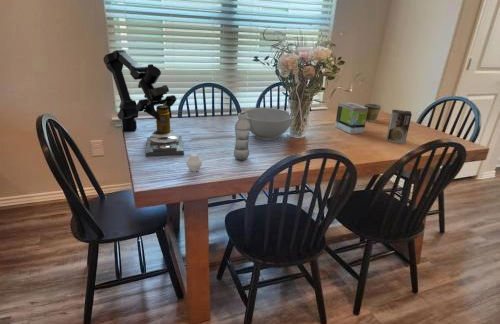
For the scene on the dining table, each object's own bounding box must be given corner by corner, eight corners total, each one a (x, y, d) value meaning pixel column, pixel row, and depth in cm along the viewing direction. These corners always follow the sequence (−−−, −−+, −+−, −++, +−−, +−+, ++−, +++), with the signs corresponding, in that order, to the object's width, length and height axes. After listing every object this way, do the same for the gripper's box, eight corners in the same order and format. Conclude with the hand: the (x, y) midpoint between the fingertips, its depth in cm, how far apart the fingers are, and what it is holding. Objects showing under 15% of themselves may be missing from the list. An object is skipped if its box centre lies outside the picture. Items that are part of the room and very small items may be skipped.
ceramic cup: (380, 123, 204) (383, 107, 200) (364, 122, 204) (367, 106, 200) (373, 117, 216) (376, 103, 212) (358, 117, 216) (361, 102, 212)
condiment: (173, 130, 153) (172, 105, 148) (167, 136, 145) (165, 109, 140) (158, 128, 153) (157, 104, 148) (151, 134, 146) (149, 108, 141)
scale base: (146, 156, 138) (145, 149, 137) (147, 141, 156) (147, 134, 155) (184, 154, 142) (183, 147, 141) (181, 140, 160) (181, 133, 159)
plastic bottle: (233, 155, 143) (234, 111, 136) (248, 156, 144) (250, 112, 136) (233, 161, 138) (234, 115, 130) (249, 161, 138) (251, 116, 130)
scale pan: (149, 144, 143) (149, 141, 143) (150, 135, 155) (150, 132, 154) (179, 143, 146) (179, 140, 146) (178, 134, 158) (178, 131, 157)
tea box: (364, 133, 184) (369, 107, 178) (349, 134, 180) (353, 108, 174) (348, 125, 196) (352, 101, 191) (334, 126, 193) (337, 102, 187)
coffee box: (404, 140, 174) (411, 111, 168) (405, 144, 168) (412, 113, 162) (386, 138, 177) (392, 109, 170) (386, 141, 171) (393, 111, 165)
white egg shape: (187, 167, 130) (186, 150, 128) (202, 167, 131) (202, 151, 128) (185, 173, 125) (184, 156, 122) (201, 173, 125) (201, 157, 122)
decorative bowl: (233, 140, 163) (233, 116, 158) (251, 126, 186) (252, 105, 182) (284, 148, 155) (287, 124, 150) (297, 133, 178) (299, 111, 173)
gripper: (136, 81, 136) (153, 112, 134) (173, 77, 149) (189, 105, 147) (128, 96, 144) (144, 126, 142) (164, 91, 157) (179, 118, 155)
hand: (165, 118), depth 146 cm, fingers closed on condiment, 6 cm apart
